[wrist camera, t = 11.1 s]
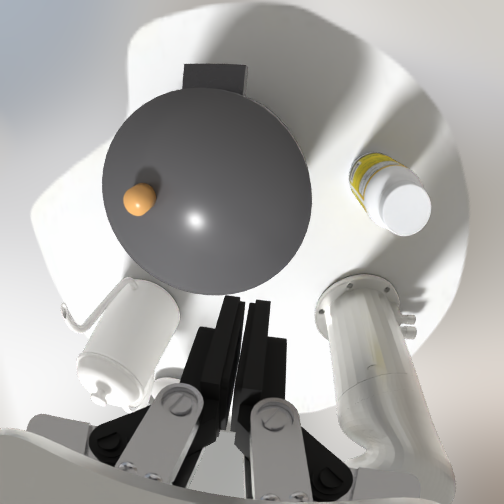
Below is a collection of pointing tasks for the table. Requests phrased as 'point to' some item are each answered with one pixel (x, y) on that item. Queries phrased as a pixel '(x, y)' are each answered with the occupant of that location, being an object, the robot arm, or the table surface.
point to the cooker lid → (207, 191)
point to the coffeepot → (125, 343)
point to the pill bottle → (390, 193)
